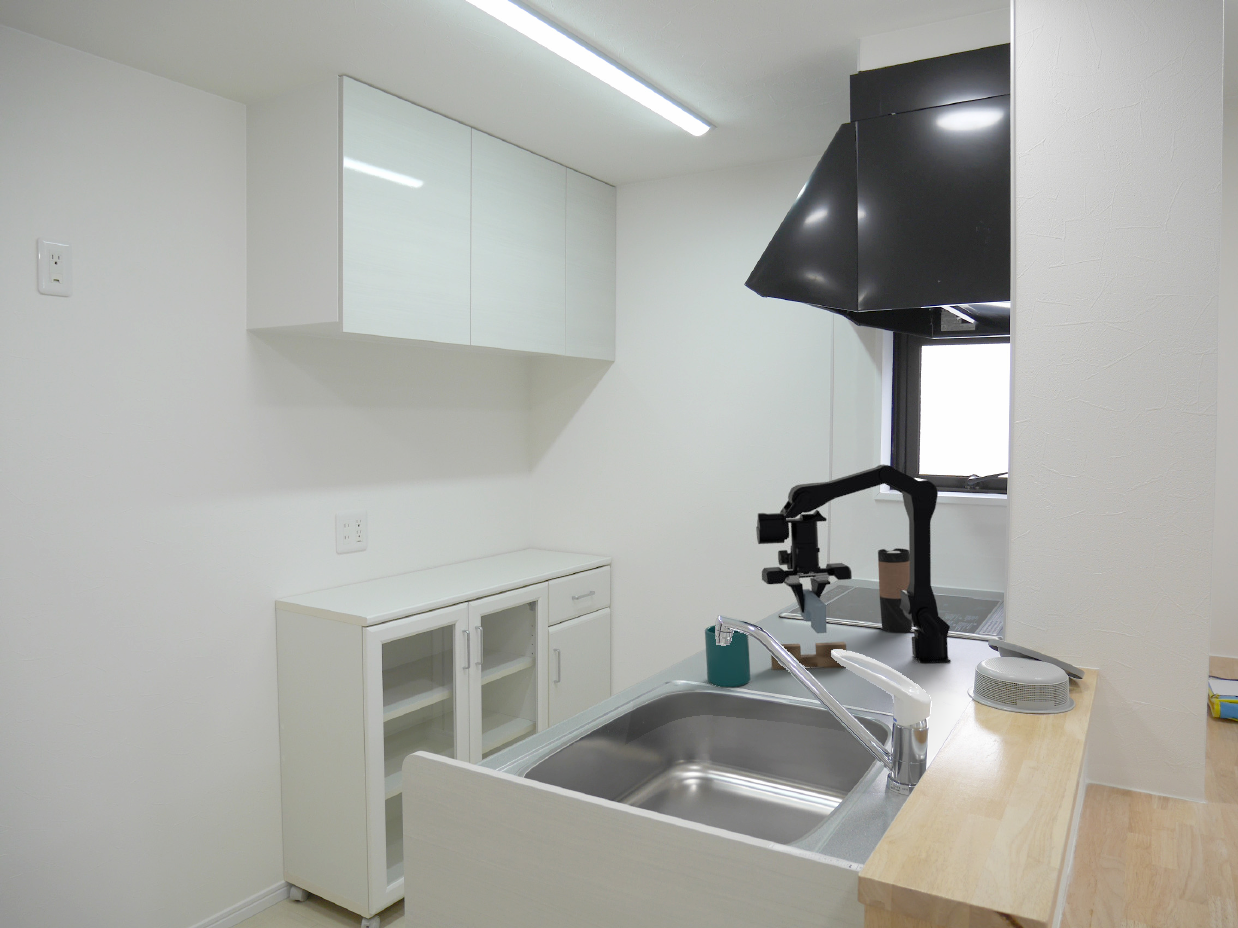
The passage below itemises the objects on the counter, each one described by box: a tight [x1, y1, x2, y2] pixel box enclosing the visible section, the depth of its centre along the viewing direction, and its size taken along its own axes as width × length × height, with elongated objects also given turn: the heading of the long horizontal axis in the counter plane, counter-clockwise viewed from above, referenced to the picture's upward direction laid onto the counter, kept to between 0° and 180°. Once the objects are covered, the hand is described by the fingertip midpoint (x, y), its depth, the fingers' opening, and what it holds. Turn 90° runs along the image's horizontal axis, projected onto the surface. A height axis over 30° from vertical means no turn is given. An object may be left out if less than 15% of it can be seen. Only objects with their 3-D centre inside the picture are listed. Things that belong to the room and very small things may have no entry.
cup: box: [704, 624, 751, 688], centre depth 174 cm, size 9×12×11 cm
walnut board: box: [770, 641, 847, 671], centre depth 180 cm, size 16×2×5 cm, turn 85°
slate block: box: [800, 588, 828, 634], centre depth 177 cm, size 12×2×6 cm, turn 4°
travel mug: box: [877, 547, 913, 634], centre depth 206 cm, size 8×8×20 cm
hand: (807, 612), depth 182 cm, fingers closed on slate block, 2 cm apart
